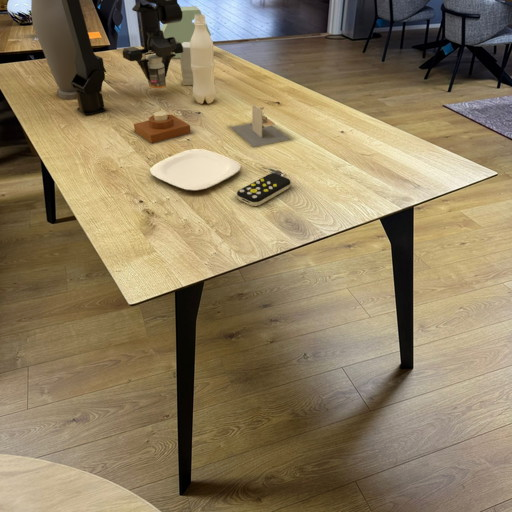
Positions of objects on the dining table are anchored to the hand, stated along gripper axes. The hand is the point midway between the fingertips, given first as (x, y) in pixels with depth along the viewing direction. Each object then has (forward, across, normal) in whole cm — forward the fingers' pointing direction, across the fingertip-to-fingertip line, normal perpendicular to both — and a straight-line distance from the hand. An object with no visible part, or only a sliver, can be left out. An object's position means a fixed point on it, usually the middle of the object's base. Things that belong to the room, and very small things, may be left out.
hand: (156, 78), depth 156 cm
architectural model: (+5, +6, -47) cm, 48 cm away
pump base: (+5, -15, -30) cm, 34 cm away
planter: (+5, +33, +36) cm, 49 cm away
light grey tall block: (+5, +16, +3) cm, 17 cm away
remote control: (+5, -14, -74) cm, 75 cm away
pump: (+1, -15, -30) cm, 34 cm away
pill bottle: (+3, 0, 0) cm, 3 cm away
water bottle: (+5, +8, -16) cm, 19 cm away
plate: (+5, -21, -57) cm, 61 cm away
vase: (+5, -23, +17) cm, 29 cm away
